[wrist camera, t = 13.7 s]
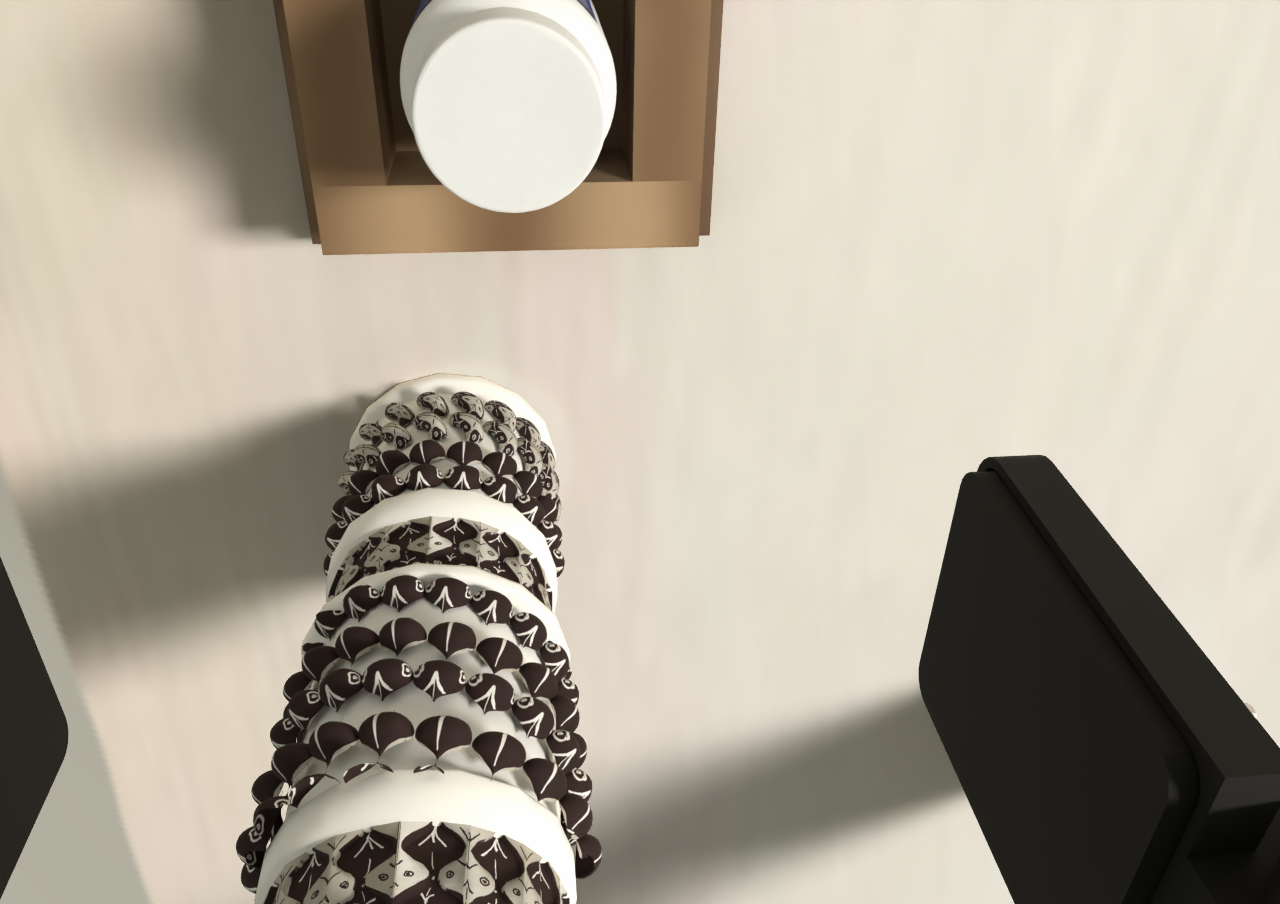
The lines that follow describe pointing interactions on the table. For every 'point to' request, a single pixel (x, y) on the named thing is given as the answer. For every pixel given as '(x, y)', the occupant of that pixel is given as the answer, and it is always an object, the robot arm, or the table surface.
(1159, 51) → the table surface
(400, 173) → the brown wooden open box
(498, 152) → the pill bottle
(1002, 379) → the table surface
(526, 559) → the black white patterned cylinder
